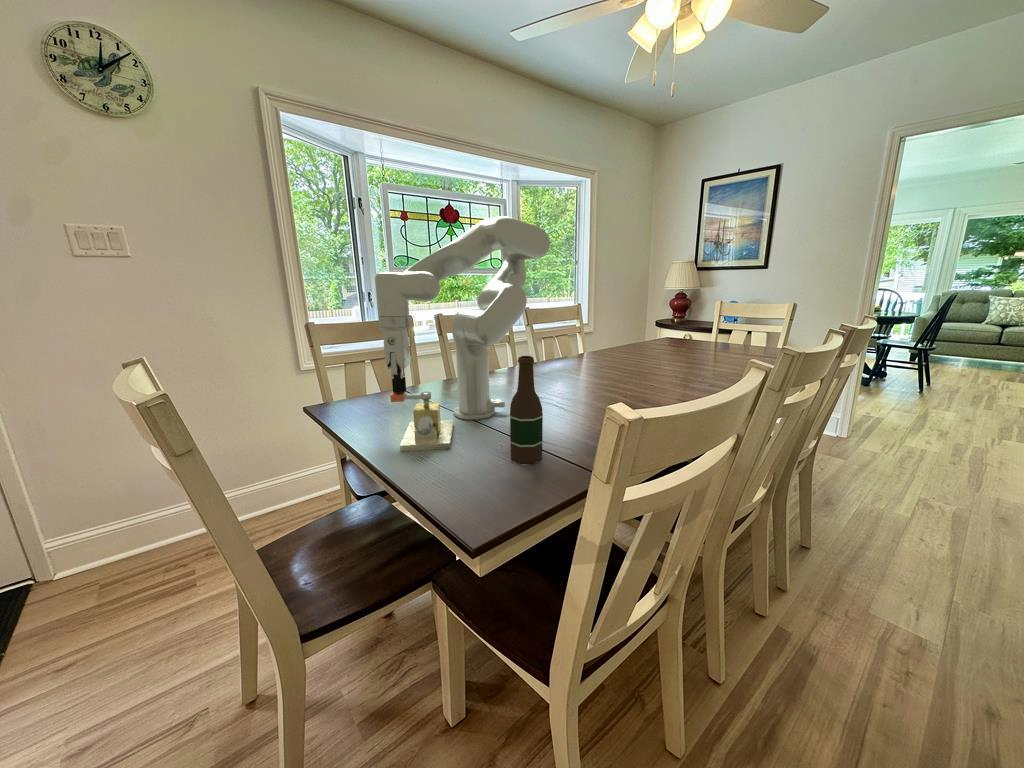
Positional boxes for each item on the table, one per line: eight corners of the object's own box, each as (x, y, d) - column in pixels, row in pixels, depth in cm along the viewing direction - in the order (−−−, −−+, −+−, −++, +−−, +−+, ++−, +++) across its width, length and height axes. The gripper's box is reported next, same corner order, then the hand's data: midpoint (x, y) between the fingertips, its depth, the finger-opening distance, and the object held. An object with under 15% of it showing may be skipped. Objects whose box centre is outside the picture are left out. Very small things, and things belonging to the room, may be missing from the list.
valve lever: (431, 397, 103) (431, 390, 102) (430, 400, 100) (430, 393, 100) (392, 398, 102) (392, 392, 102) (390, 402, 100) (390, 395, 99)
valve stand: (453, 424, 113) (451, 389, 110) (450, 448, 97) (447, 408, 94) (410, 426, 112) (407, 391, 109) (400, 451, 96) (396, 410, 93)
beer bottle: (517, 468, 87) (517, 362, 81) (504, 454, 94) (502, 355, 87) (548, 461, 90) (550, 358, 84) (533, 448, 97) (534, 352, 90)
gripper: (404, 326, 93) (409, 400, 98) (413, 319, 108) (418, 384, 112) (371, 326, 92) (378, 401, 97) (385, 319, 107) (391, 385, 112)
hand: (399, 392), depth 105 cm, fingers closed
